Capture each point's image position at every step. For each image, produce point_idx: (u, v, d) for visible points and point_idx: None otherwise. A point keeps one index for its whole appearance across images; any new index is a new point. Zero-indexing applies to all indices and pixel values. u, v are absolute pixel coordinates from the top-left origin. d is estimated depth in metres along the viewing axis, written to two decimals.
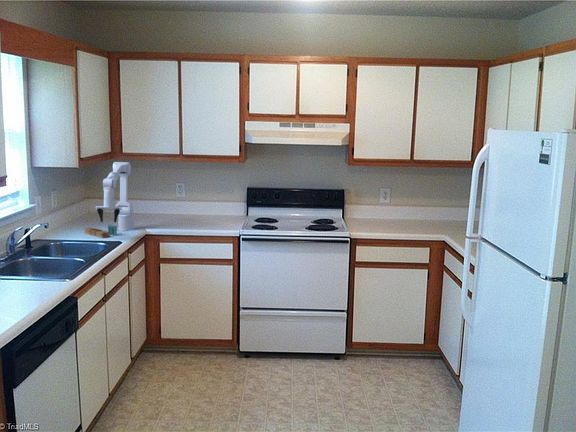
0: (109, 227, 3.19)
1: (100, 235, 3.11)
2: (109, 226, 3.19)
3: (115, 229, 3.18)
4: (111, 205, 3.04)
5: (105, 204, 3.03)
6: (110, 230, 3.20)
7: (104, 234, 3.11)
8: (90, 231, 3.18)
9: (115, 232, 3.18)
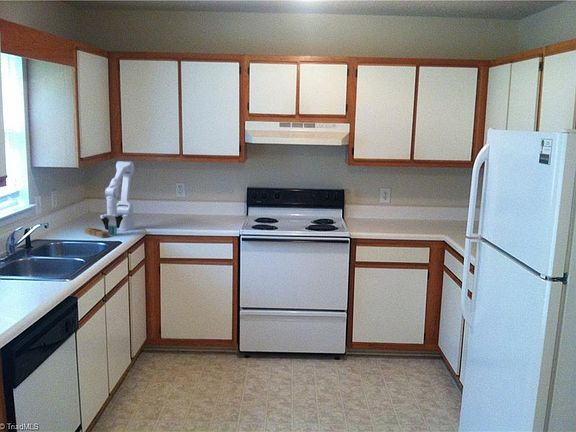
0: (109, 227, 3.19)
1: (100, 235, 3.11)
2: (109, 226, 3.19)
3: (115, 229, 3.18)
4: (116, 213, 3.18)
5: (112, 213, 3.15)
6: (110, 230, 3.20)
7: (104, 234, 3.11)
8: (90, 231, 3.18)
9: (115, 232, 3.18)
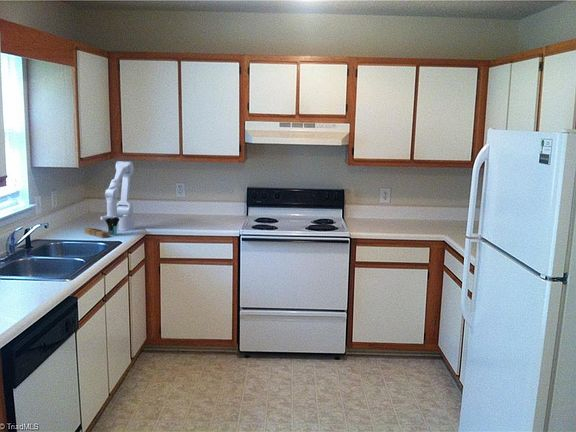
0: None
1: (100, 235, 3.11)
2: None
3: (115, 229, 3.18)
4: (116, 214, 3.18)
5: (112, 214, 3.15)
6: None
7: (104, 234, 3.11)
8: (90, 231, 3.18)
9: (115, 232, 3.18)
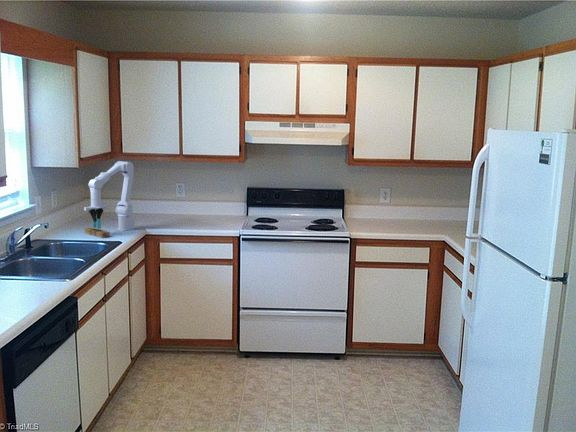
0: None
1: (100, 235, 3.11)
2: None
3: (99, 222, 3.15)
4: (100, 205, 3.16)
5: (96, 205, 3.13)
6: (94, 223, 3.18)
7: (104, 234, 3.11)
8: (90, 231, 3.18)
9: (99, 225, 3.15)
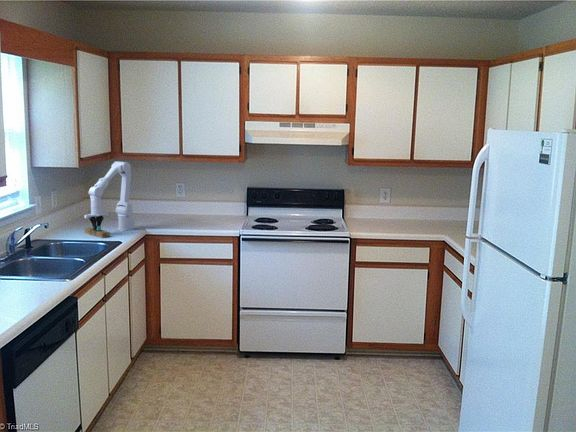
0: None
1: (100, 235, 3.11)
2: None
3: (99, 229, 3.16)
4: (100, 212, 3.16)
5: (96, 212, 3.13)
6: None
7: (104, 234, 3.11)
8: (90, 231, 3.18)
9: None
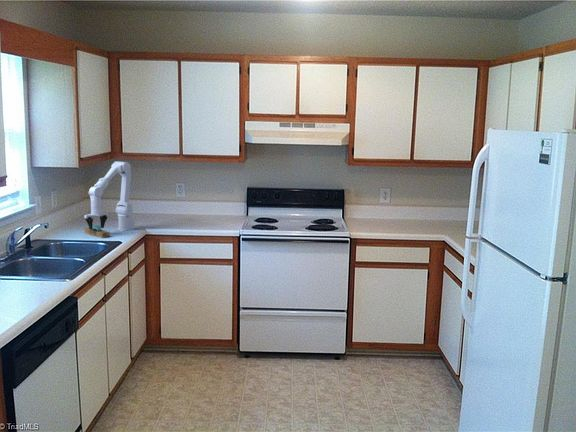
0: (93, 227, 3.18)
1: (100, 235, 3.11)
2: (93, 226, 3.18)
3: (99, 229, 3.16)
4: (100, 212, 3.16)
5: (96, 212, 3.13)
6: None
7: (104, 234, 3.11)
8: (90, 231, 3.18)
9: None
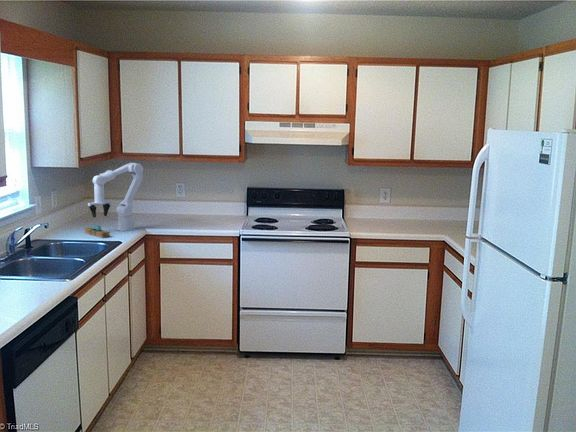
0: (93, 227, 3.18)
1: (100, 235, 3.11)
2: (93, 226, 3.18)
3: (99, 229, 3.16)
4: (104, 201, 3.24)
5: (99, 200, 3.21)
6: None
7: (104, 234, 3.11)
8: (90, 231, 3.18)
9: None
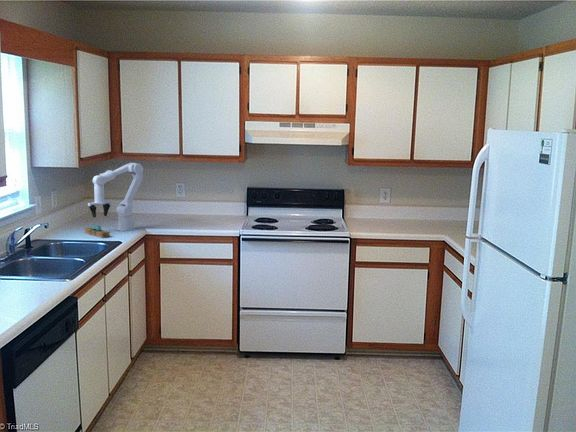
0: (93, 227, 3.18)
1: (100, 235, 3.11)
2: (93, 226, 3.18)
3: (99, 229, 3.16)
4: (104, 201, 3.24)
5: (99, 200, 3.21)
6: None
7: (104, 234, 3.11)
8: (90, 231, 3.18)
9: None
